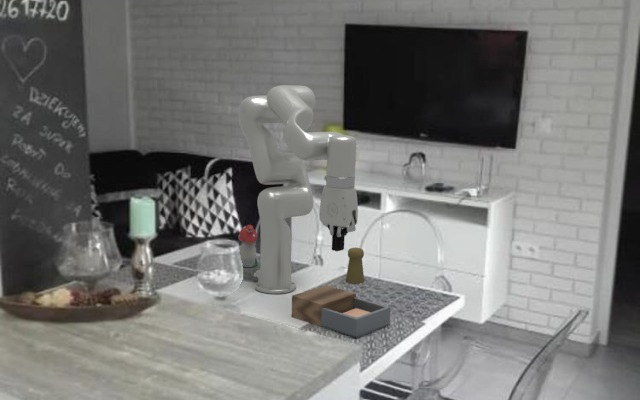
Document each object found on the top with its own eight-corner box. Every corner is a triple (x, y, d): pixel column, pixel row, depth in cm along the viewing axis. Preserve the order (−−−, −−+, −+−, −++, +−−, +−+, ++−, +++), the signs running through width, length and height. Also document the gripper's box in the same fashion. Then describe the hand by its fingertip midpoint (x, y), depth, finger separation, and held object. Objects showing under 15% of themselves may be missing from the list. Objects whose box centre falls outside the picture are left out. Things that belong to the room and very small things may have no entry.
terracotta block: (360, 318, 185) (359, 329, 186) (373, 313, 190) (373, 324, 190) (342, 313, 189) (341, 324, 189) (356, 308, 193) (355, 318, 194)
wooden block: (291, 316, 196) (292, 295, 195) (325, 305, 206) (326, 285, 205) (321, 326, 189) (321, 304, 188) (355, 314, 199) (355, 293, 198)
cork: (362, 284, 227) (364, 251, 226) (344, 283, 229) (345, 249, 227) (365, 279, 233) (366, 246, 231) (347, 278, 234) (348, 245, 233)
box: (321, 326, 189) (321, 308, 188) (355, 314, 199) (355, 297, 198) (356, 338, 181) (356, 319, 180) (389, 325, 191) (390, 307, 190)
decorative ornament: (255, 269, 243) (255, 225, 240) (236, 268, 243) (236, 225, 240) (258, 262, 252) (259, 220, 249) (240, 261, 252) (240, 219, 250)
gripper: (310, 180, 190) (307, 246, 194) (353, 187, 180) (350, 258, 184) (328, 177, 196) (326, 242, 199) (371, 184, 186) (368, 253, 189)
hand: (337, 249), depth 191 cm, fingers closed
